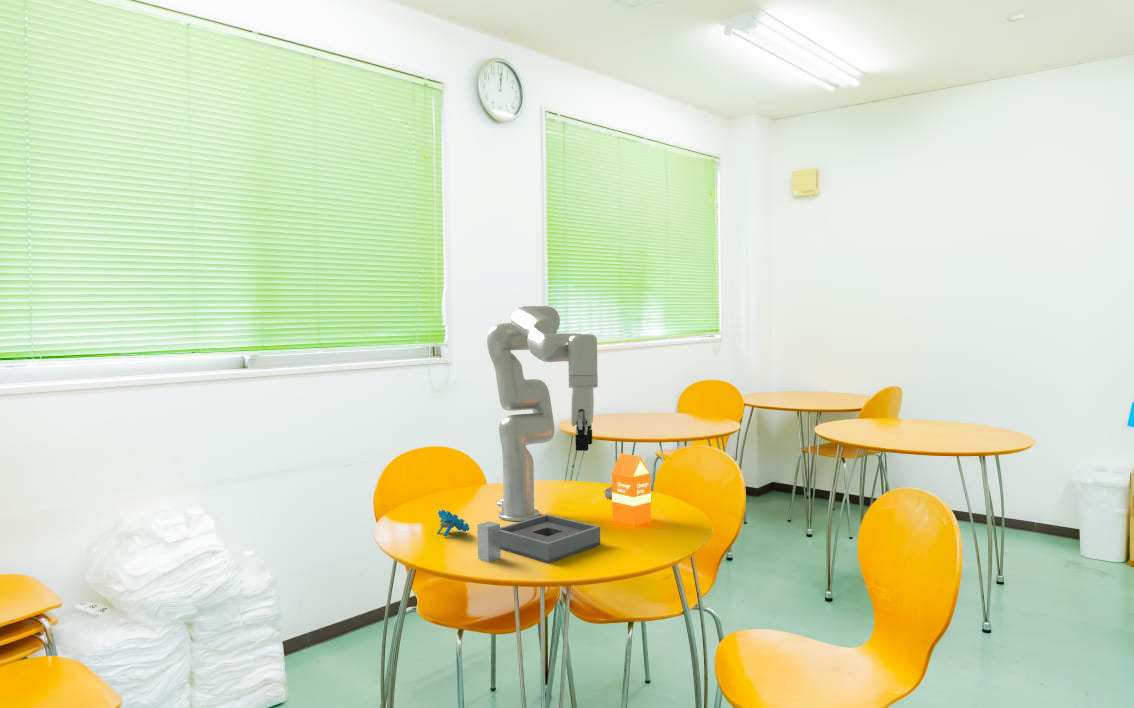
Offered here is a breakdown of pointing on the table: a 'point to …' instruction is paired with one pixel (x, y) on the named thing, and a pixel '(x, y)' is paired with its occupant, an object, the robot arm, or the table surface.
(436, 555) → the table surface
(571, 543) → the box
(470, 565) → the table surface
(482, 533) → the peg
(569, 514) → the table surface
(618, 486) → the orange juice
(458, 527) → the blue bumpy legged piece
